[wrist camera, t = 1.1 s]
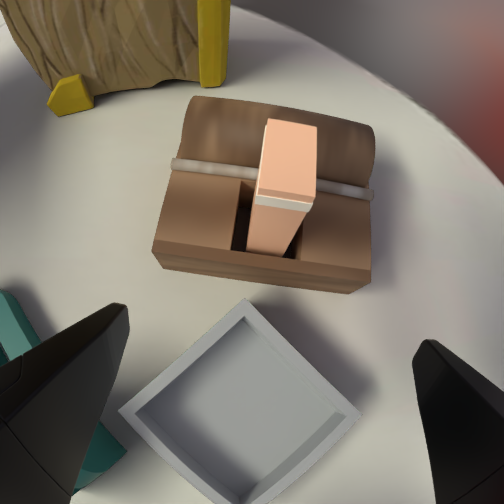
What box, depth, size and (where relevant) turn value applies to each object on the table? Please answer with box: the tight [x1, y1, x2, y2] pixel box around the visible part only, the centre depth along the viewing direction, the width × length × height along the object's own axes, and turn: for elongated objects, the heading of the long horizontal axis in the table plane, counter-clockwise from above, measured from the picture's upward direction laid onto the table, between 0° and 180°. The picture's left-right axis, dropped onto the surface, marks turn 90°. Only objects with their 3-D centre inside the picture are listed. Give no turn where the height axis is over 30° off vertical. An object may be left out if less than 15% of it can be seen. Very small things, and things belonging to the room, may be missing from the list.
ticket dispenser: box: [152, 96, 375, 294], centre depth 22 cm, size 12×14×7 cm
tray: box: [118, 298, 363, 504], centre depth 18 cm, size 11×11×3 cm
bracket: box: [0, 289, 127, 496], centre depth 15 cm, size 18×7×8 cm, turn 45°
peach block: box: [245, 118, 317, 258], centre depth 19 cm, size 4×2×11 cm, turn 173°
